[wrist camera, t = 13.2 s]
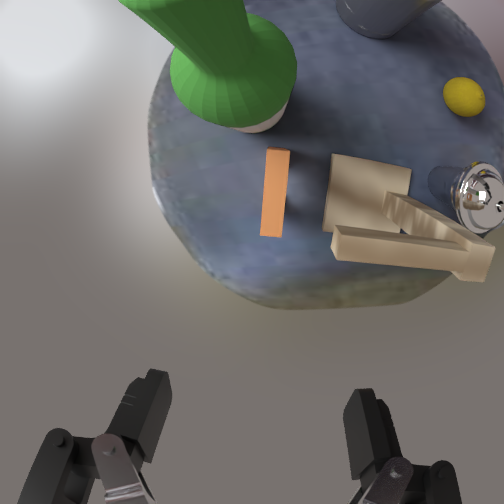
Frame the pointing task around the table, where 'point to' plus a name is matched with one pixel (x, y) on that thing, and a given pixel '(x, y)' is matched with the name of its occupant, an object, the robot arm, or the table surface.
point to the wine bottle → (224, 60)
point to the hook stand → (395, 223)
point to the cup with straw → (471, 194)
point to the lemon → (464, 96)
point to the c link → (274, 191)
